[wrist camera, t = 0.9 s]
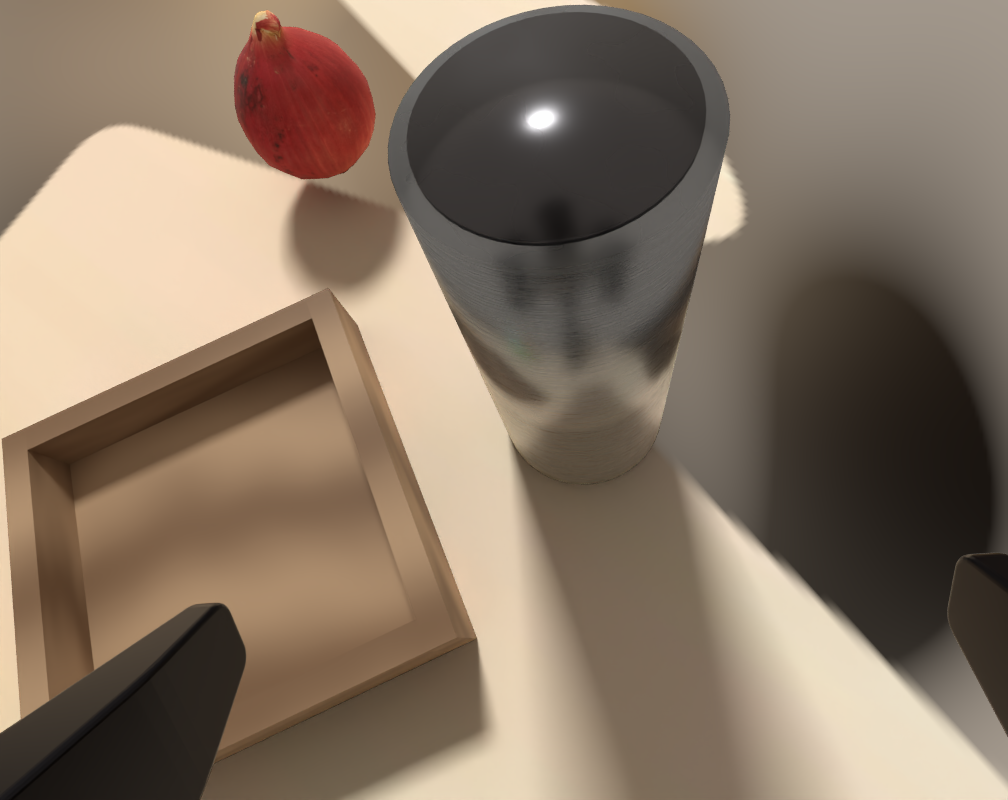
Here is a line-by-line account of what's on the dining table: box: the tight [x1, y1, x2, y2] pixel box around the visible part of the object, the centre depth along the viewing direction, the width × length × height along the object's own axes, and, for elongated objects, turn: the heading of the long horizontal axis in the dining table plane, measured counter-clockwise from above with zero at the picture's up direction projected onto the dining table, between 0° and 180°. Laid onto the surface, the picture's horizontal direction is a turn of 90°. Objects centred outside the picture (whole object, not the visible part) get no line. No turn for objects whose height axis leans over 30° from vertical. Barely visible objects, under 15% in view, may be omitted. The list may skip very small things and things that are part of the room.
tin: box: [388, 5, 730, 484], centre depth 17 cm, size 6×6×14 cm
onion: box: [234, 10, 375, 179], centre depth 27 cm, size 6×6×8 cm
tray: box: [2, 288, 477, 763], centre depth 22 cm, size 14×14×3 cm
